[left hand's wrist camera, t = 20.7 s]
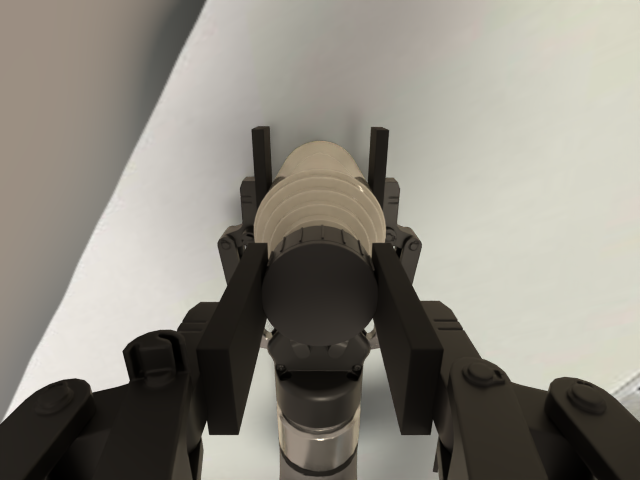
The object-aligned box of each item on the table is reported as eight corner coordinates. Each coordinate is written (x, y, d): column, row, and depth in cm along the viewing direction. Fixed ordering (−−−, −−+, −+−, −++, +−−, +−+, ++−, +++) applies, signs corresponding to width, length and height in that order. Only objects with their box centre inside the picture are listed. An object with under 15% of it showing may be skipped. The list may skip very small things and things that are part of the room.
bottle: (291, 130, 29) (248, 174, 12) (370, 154, 30) (443, 230, 12) (271, 207, 32) (211, 340, 14) (345, 228, 33) (375, 379, 15)
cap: (395, 267, 14) (405, 291, 13) (326, 336, 16) (327, 366, 14) (312, 201, 13) (311, 216, 12) (245, 280, 15) (235, 305, 13)
